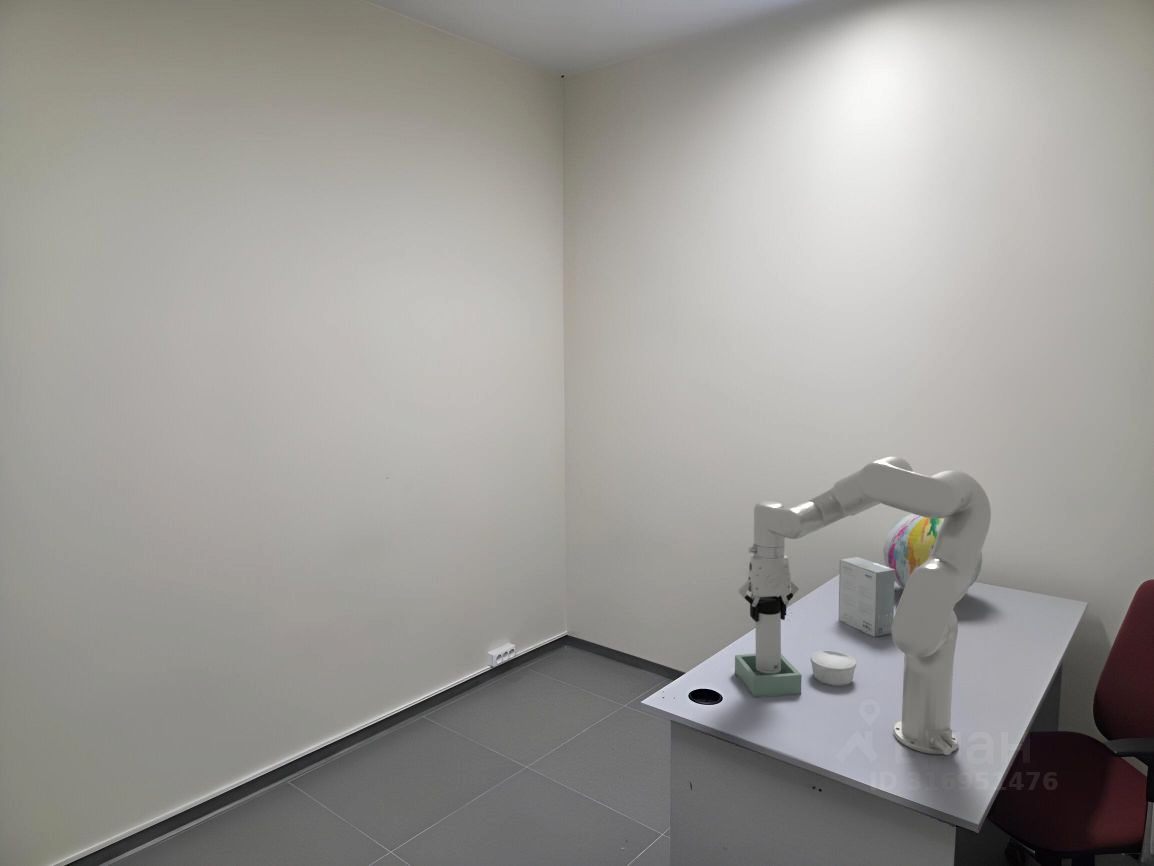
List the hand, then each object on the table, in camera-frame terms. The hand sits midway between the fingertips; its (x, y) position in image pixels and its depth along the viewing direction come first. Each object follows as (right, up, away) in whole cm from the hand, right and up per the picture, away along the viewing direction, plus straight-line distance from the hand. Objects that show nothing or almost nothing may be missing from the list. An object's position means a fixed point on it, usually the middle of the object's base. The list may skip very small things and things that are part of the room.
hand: (768, 618), depth 177 cm
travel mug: (+1, -15, +2) cm, 15 cm away
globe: (+73, -9, +61) cm, 95 cm away
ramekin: (+18, -17, +4) cm, 25 cm away
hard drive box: (+40, -13, +37) cm, 56 cm away
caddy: (0, -17, +2) cm, 18 cm away
